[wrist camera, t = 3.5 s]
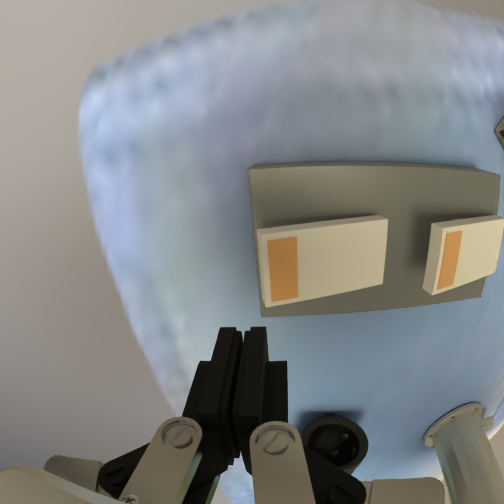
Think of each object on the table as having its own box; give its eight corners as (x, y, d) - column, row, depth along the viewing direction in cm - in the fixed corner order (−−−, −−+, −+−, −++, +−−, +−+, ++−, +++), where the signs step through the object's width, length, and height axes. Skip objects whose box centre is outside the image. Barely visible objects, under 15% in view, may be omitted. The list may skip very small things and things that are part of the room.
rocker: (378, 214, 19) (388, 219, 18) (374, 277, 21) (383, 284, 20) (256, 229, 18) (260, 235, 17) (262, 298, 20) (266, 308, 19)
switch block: (476, 168, 21) (508, 177, 16) (462, 279, 25) (486, 302, 20) (253, 165, 23) (246, 171, 19) (263, 293, 28) (260, 325, 23)
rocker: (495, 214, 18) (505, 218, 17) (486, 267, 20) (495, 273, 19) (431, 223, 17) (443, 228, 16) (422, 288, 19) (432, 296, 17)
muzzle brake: (363, 408, 34) (376, 469, 24) (318, 481, 44) (319, 522, 35) (297, 408, 34) (297, 474, 25) (273, 481, 45) (270, 522, 35)
